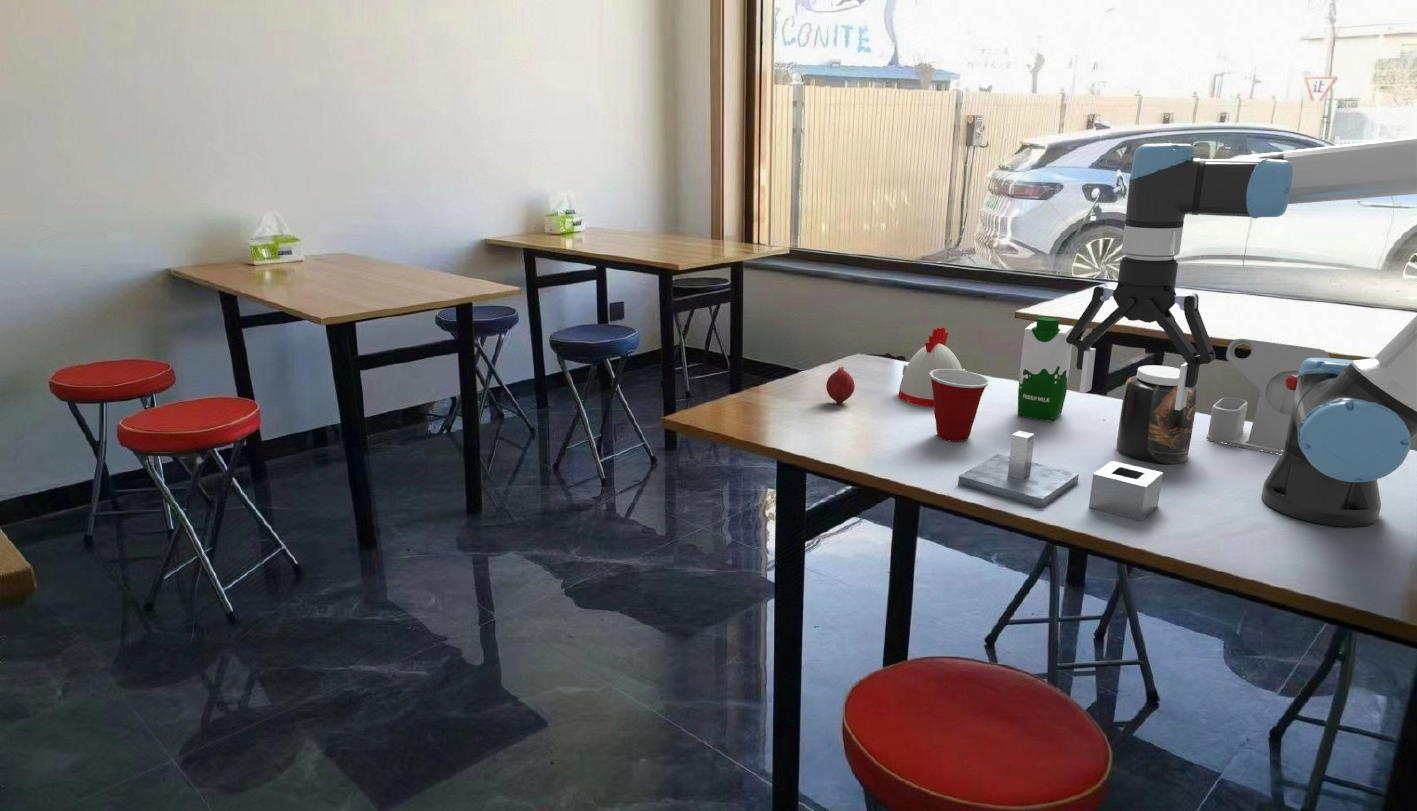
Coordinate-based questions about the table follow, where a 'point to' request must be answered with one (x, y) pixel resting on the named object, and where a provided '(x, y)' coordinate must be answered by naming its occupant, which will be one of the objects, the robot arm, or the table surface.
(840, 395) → the onion
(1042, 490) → the stand
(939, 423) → the plastic cup
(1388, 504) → the table surface
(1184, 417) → the jar
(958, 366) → the chicken hat
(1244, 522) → the table surface
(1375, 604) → the table surface
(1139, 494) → the block
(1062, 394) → the milk carton
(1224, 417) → the phone holder
